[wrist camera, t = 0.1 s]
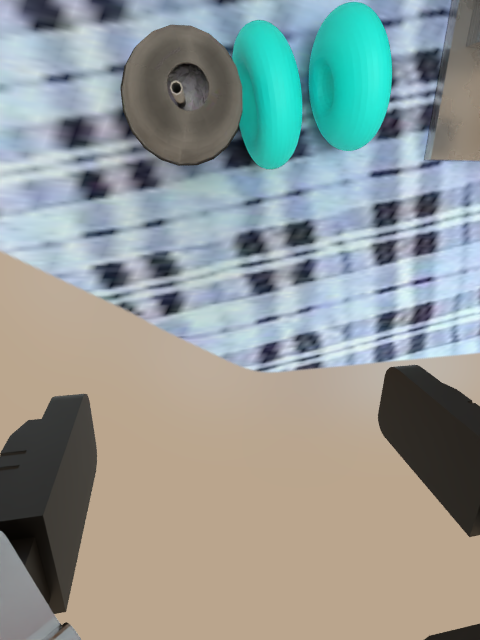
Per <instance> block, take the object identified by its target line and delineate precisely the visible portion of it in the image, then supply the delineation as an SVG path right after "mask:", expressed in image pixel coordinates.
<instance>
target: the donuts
mask: <svg viewBox="0 0 480 640" xmlns="http://www.w3.org/2000/svg"><path fill="white" fill-rule="evenodd" d="M232 60H233V62H234V63H235V65H236V67H237V70H238V74H239V77H240V81H241V84H242V108H243V109H242V110H243V112H242V116H241V120H240V123H239V127H240V131H241V134H242V138H243V141H244V143H245V146H246V148H247V151H248V153H249V154H250V156H251V158H252V159H253V161H254V162H255V163H256V164H257V165H259V166H260V167H262V168H265V169H276V168H279V167H281V166H282V165H284V164H285V163H286V162H287V161H288V160H289V159H290V157H291V156H292V154H293V153H294V150H295V148H296V146H297V143H298V140H299V136H300V131H301V124H302V92H301V84H300V78H299V72H298V68H297V64H296V61H295V58H294V55H293V53H292V50H291V48H290V46H289V44H288V42H287V40H286V38H285V37H284V35H283V34H282V33H281V32H280V31H279V29H278V28H277V27H275V26H274V25H272V24H271V23H269V22H267V21H263V20H256V21H252V22H250V23H248V24H246V25H245V26H244V27H243V28H242V29H241V30H240V32H239V34H238V36H237V38H236V40H235V44H234V48H233V55H232ZM391 84H392V60H391V52H390V46H389V41H388V37H387V34H386V31H385V28H384V26H383V24H382V22H381V20H380V19H379V17H378V16H377V14H376V13H375V12H374V11H373V10H372V9H371V8H370V7H368V6H366V5H365V4H363V3H358V2H349V3H345V4H343V5H340V6H339V7H337V8H336V9H335V10H333V11H332V12H331V13H330V14H329V15H328V16H327V18H326V19H325V20H324V22H323V23H322V25H321V27H320V29H319V31H318V33H317V35H316V38H315V41H314V44H313V48H312V52H311V57H310V64H309V96H310V103H311V108H312V112H313V116H314V119H315V122H316V124H317V126H318V129H319V130H320V132H321V134H322V136H323V137H324V138H325V139H326V140H327V142H328V143H329V144H331V145H332V146H334V147H335V148H337V149H340V150H343V151H353V150H357V149H359V148H361V147H363V146H365V145H366V144H367V143H368V142H369V141H370V140H371V139H372V138H373V137H374V136H375V135H376V133H377V132H378V130H379V128H380V126H381V124H382V122H383V120H384V117H385V115H386V112H387V108H388V104H389V99H390V94H391Z"/></svg>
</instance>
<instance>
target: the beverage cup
mask: <svg viewBox="0 0 480 640" xmlns="http://www.w3.org/2000/svg"><path fill="white" fill-rule="evenodd" d="M121 97H122V106H123V112H124V114H125V117H126V119H127V122H128V124H129V126H130V129H131V131H132V133H133V134H134V135H135V136H136V138H137V139H138V140H139V142H140V143H141V144H142V145H143V147H144V148H145V149H147V150H148V151H149V152H151V153H152V154H154V155H155V156H156V157H158V158H159V159H161V160H163V161H166V162H170V163H173V164H176V165H179V166H180V165H199V164H201V163H204V162H207V161H210V160H212V159H214V158H215V157H216V156H218V155H219V154H220V153H221V152H222V151H224V150H225V149H226V148H227V147H228V146H229V144H230V142H231V141H232V139H233V138H234V136H235V134H236V133H237V131H238V127H239V123H240V120H241V116H242V112H243V110H242V109H243V108H242V84H241V81H240V77H239V74H238V70H237V67H236V65H235V63H234V62H233V60H232V58H231V57H230V55H229V53H228V52H227V50H226V49H225V47H224V46H222V45H221V44H220V43H219V42H218V41H217V40H216V39H215V38H214V37H212V36H211V35H210V34H209V33H206V32H204V31H202V30H199V29H197V28H195V27H192V26H185V25H169V26H166V27H164V28H161V29H158V30H155V31H153V32H151V33H150V34H149V35H148V36H147V37H146V38H145V39H143V40H142V41H141V42H140V43H139V44H138V45H137V46H136V47H135V48H134V50H133V52H132V54H131V55H130V57H129V59H128V61H127V63H126V65H125V67H124V72H123V77H122V83H121Z"/></svg>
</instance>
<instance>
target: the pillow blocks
mask: <svg viewBox="0 0 480 640" xmlns="http://www.w3.org/2000/svg"><path fill="white" fill-rule="evenodd" d="M424 160H461V161H480V0H452V4H451V10H450V15H449V21H448V27H447V32H446V38H445V44H444V50H443V55H442V61H441V67H440V72H439V78H438V84H437V90H436V95H435V101H434V107H433V113H432V118H431V124H430V130H429V135H428V141H427V147H426V153H425V158H424Z"/></svg>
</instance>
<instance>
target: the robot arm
mask: <svg viewBox="0 0 480 640" xmlns="http://www.w3.org/2000/svg"><path fill="white" fill-rule="evenodd" d="M378 421H379V426H380V429H381V431H382V433H383V435H384V437H385V438H386V439H387V440H388V441H389V443H390V444H391V445H392V446H393V447H394V448H395V449H396V451H397V452H398V453H399V454H400V456H401V457H402V458H403V459H404V460H405V462H406V463H407V464H408V465H409V466H410V467H411V469H412V470H413V471H414V472H415V473H416V474H417V475H418V477H419V478H420V479H421V480H422V482H423V483H424V484H425V485H426V486H427V487H428V489H429V490H430V491H431V492H432V493H433V495H434V496H435V497H436V498H437V499H438V500H439V502H441V504H442V505H443V506H444V507H445V509H446V510H447V511H448V512H449V513H450V515H451V516H452V517H453V518H454V519H455V520H456V522H457V523H458V524H459V525H460V526H461V528H462V529H463V530H464V531H465V532H466V533H467V535H468V536H469V537H472V536H477V535H480V406H478V405H477V404H476V403H472V400H470V399H469V398H468V397H466V396H465V395H464V394H462V393H461V392H459V391H458V390H457V389H454V388H452V387H450V386H448V385H446V384H443V383H441V382H440V381H439V380H438V379H436V378H435V377H434V376H432V375H431V374H430V373H428V372H426V371H425V370H424V369H423V368H421V367H420V366H418V365H411V366H410V365H409V366H398V367H390V368H389V369H388V370H387V371H386V374H385V378H384V384H383V390H382V395H381V401H380V407H379V413H378ZM0 454H1V455H0V640H81V638H80V637H79V636H78V634H77V633H76V631H75V630H74V629H73V627H72V626H71V625H70V624H68V623H64V624H63V625H61V624H60V623H59V621H58V620H57V618H56V617H55V615H54V614H56V613H61V612H66V609H67V604H68V600H69V595H70V590H71V586H72V581H73V576H74V571H75V567H76V562H77V558H78V552H79V548H80V543H81V539H82V534H83V529H84V525H85V519H86V515H87V511H88V506H89V501H90V496H91V491H92V487H93V482H94V478H95V473H96V465H97V449H96V442H95V434H94V428H93V421H92V415H91V408H90V402H89V398H88V396H87V394H79V395H67V396H55V397H53V398H52V399H51V401H50V403H49V405H48V407H47V409H46V411H45V414H44V415H43V417H42V419H37V420H28V421H27V422H26V423H25V424H23V425H22V426H21V427H20V428H19V429H18V430H16V431H15V432H14V433H13V434H12V435H11V436H10V437H9V439H8V441H7V443H6V444H5V446H4V448H3V450H2V451H1V453H0ZM425 640H480V624H477V625H472V626H468V627H464V628H460V629H456V630H452V631H448V632H443V633H439V634H435V635H431V636H429V637H427V638H426V639H425Z"/></svg>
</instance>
